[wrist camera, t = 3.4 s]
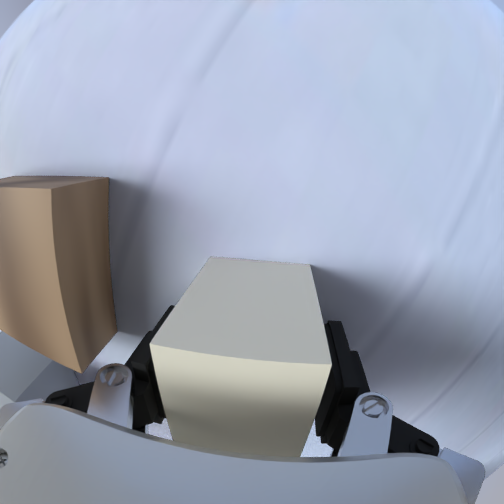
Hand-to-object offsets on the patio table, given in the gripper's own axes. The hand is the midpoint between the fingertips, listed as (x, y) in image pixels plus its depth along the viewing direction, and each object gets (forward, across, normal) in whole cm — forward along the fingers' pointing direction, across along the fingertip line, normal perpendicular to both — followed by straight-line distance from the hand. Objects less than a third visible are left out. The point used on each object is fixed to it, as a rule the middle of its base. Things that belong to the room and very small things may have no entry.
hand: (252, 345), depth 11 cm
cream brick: (+1, 0, 0) cm, 1 cm away
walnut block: (+1, +11, -3) cm, 11 cm away
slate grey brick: (+1, +16, +6) cm, 17 cm away
